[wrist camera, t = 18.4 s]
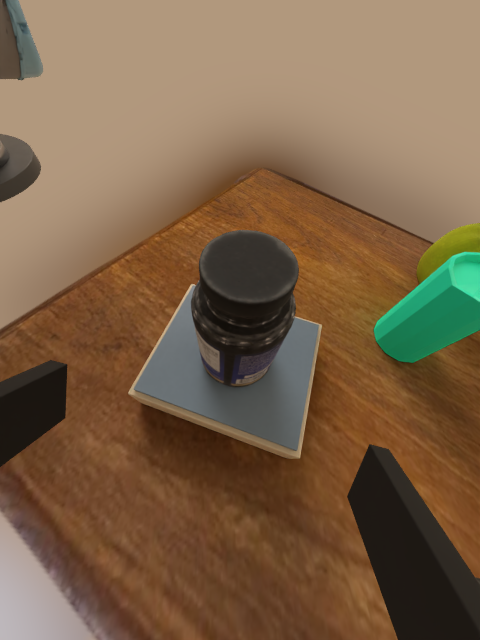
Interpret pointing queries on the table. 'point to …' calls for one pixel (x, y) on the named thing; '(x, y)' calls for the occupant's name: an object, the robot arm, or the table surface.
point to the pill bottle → (243, 304)
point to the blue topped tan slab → (233, 402)
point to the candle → (434, 311)
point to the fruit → (449, 249)
